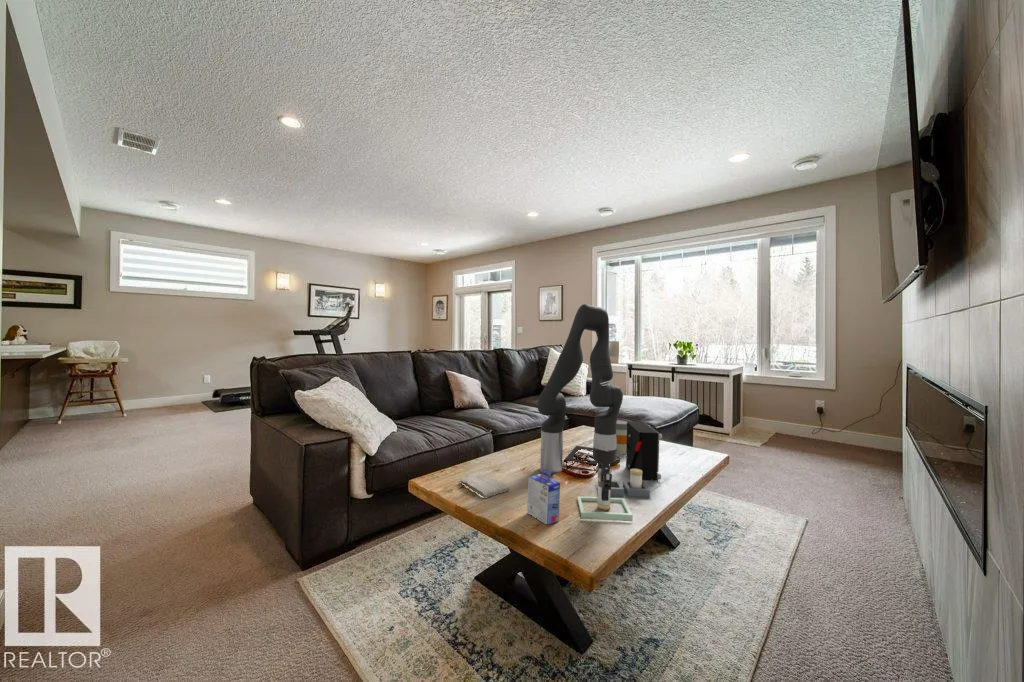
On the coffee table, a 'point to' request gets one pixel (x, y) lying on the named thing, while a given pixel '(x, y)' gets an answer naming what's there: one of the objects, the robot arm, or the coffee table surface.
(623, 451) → the reusable coffee cup
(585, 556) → the coffee table surface
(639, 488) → the fuse block
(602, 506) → the fuse
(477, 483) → the washcloth
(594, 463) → the dark grey flat frame
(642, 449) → the electrical component
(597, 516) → the pale green rectangular frame
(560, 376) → the robot arm
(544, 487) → the ink cartridge box
